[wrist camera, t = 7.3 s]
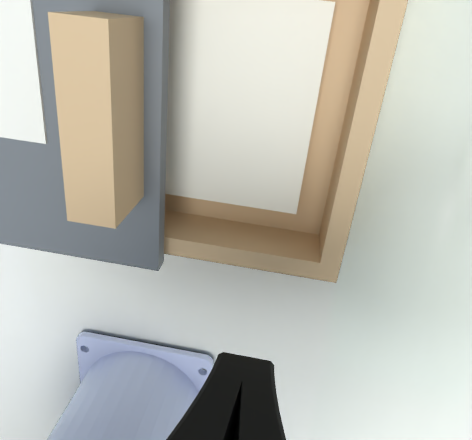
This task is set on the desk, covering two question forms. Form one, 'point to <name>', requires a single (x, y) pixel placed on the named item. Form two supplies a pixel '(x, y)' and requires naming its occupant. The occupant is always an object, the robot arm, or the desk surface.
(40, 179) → the lid
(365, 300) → the desk surface
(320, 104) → the kraft box
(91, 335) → the robot arm
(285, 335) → the desk surface
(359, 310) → the desk surface
